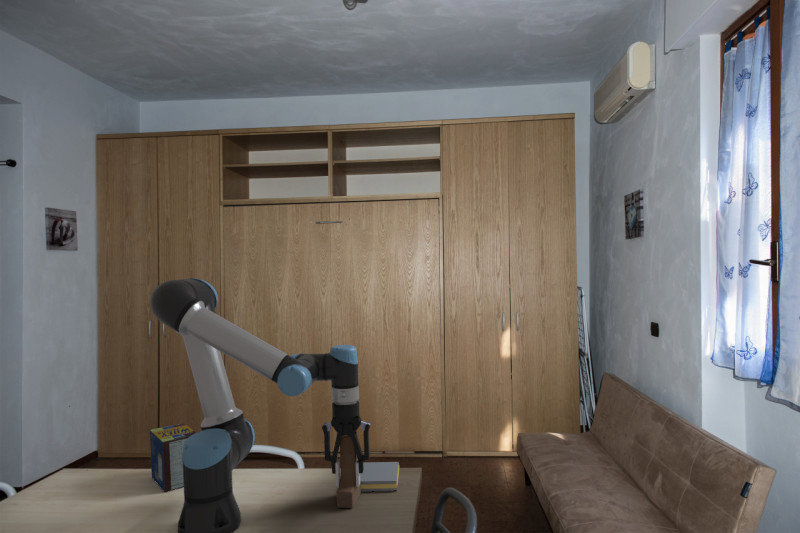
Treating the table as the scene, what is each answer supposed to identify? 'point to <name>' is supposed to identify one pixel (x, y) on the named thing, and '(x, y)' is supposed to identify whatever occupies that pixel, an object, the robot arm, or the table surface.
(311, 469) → the table surface
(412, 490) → the table surface
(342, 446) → the wooden block
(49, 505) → the table surface
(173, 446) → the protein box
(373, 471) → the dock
